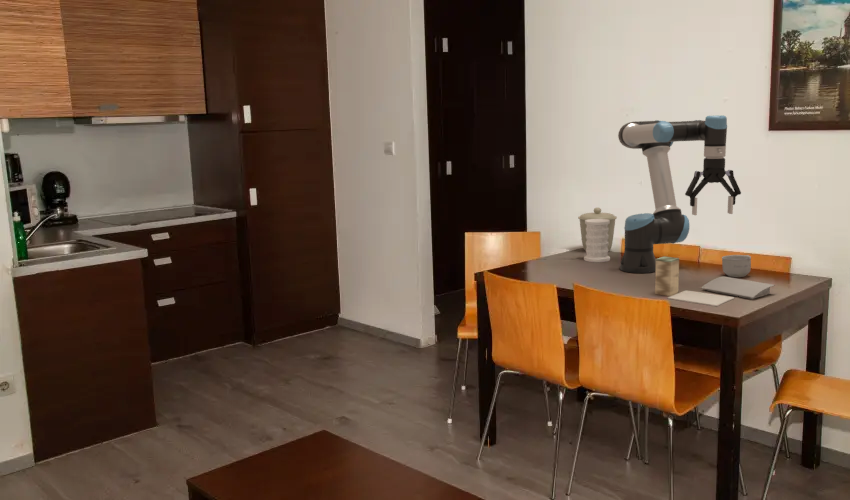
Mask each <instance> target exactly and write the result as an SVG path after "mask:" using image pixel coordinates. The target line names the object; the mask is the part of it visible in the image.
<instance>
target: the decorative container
mask: <svg viewBox="0 0 850 500" xmlns="http://www.w3.org/2000/svg"><path fill="white" fill-rule="evenodd" d="M585 224H586V225H587V227H586V232H587V234H586V239H587V241H586V246H587V248H586V250H585V252H586V255H584V256H583V260H584V261H586V262H590V263H591V262H592V263H603V262H605V263H606V262H609V261H611V257H610V255H608V254H609V251H610V250H608V244H609V243H608V237H609V236H608V231H609V228H608V224H610V220H607V219H588V220H585Z"/></svg>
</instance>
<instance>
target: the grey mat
mask: <svg viewBox="0 0 850 500" xmlns="http://www.w3.org/2000/svg"><path fill="white" fill-rule="evenodd" d="M667 299H668V300H675V301H679V302H685V303H687V302H688V303H692V304H699V305H706V306H713V307H719V306H721V305H724V304H726V303H728V302H730V301H732V300H733V299H734V300H735V296H729V295H720V294H715V293H714V294H713V293H706V292H700V291H693V290H687V289H686V290H683V291H681V292H678V293H677V294H675V295H672V296H667Z"/></svg>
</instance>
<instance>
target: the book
mask: <svg viewBox="0 0 850 500" xmlns="http://www.w3.org/2000/svg"><path fill="white" fill-rule="evenodd" d="M775 286H776V285H775V284H772V283H767V282H766V283H764V282H760V281H754V280H748V279H742V278H737V277H729V276H723V275H722V276H719V277H716V278H714V279H712V280H710V281H708V282H707V283H705V284H704V285H702V287H701V289H704V290H706V291H708V292H710V293H711V292H712V293H717V294H723V295H726V296H731V297H738V296H739V298H744V299H748V300H749V299H750V300H754V299H757V298H759V297H764V296H767V295H770V294H771V292H770V291H771V288H772V287H775Z"/></svg>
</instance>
